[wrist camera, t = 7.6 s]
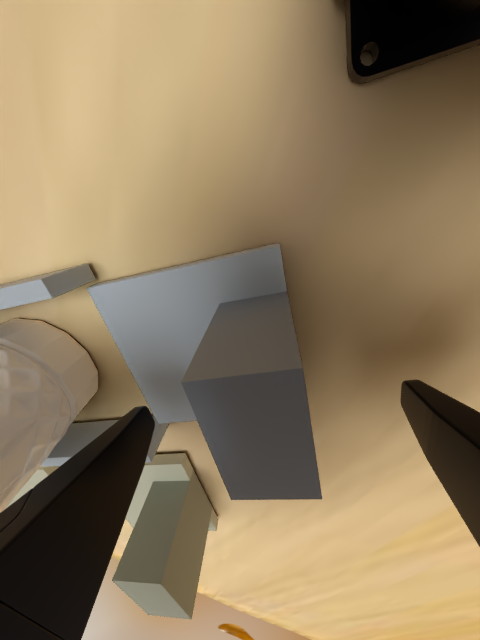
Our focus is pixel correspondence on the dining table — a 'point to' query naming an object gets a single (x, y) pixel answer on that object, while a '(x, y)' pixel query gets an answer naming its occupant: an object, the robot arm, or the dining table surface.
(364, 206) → the dining table surface
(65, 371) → the white cup
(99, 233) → the dining table surface
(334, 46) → the dining table surface
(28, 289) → the blue-grey angular bracket
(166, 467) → the broken strip
